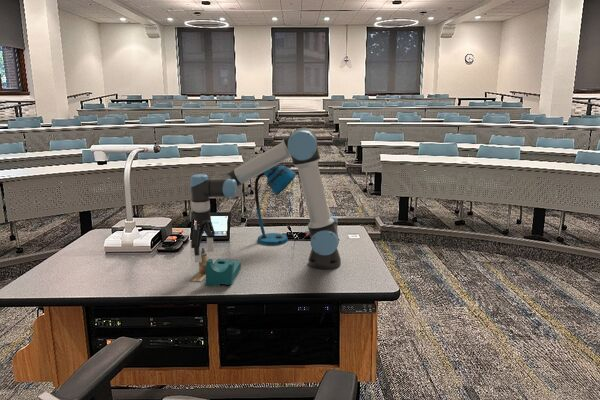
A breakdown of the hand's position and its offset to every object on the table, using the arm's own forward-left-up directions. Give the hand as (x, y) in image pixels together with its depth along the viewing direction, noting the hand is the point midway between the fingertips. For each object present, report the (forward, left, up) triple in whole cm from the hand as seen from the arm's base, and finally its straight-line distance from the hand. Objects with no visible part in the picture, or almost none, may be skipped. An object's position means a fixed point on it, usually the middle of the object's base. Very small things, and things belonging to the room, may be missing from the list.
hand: (204, 256), depth 215 cm
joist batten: (0, +2, -8) cm, 8 cm away
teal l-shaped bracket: (-10, +4, -8) cm, 13 cm away
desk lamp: (-19, -51, -8) cm, 55 cm away
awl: (+1, 0, -7) cm, 7 cm away
